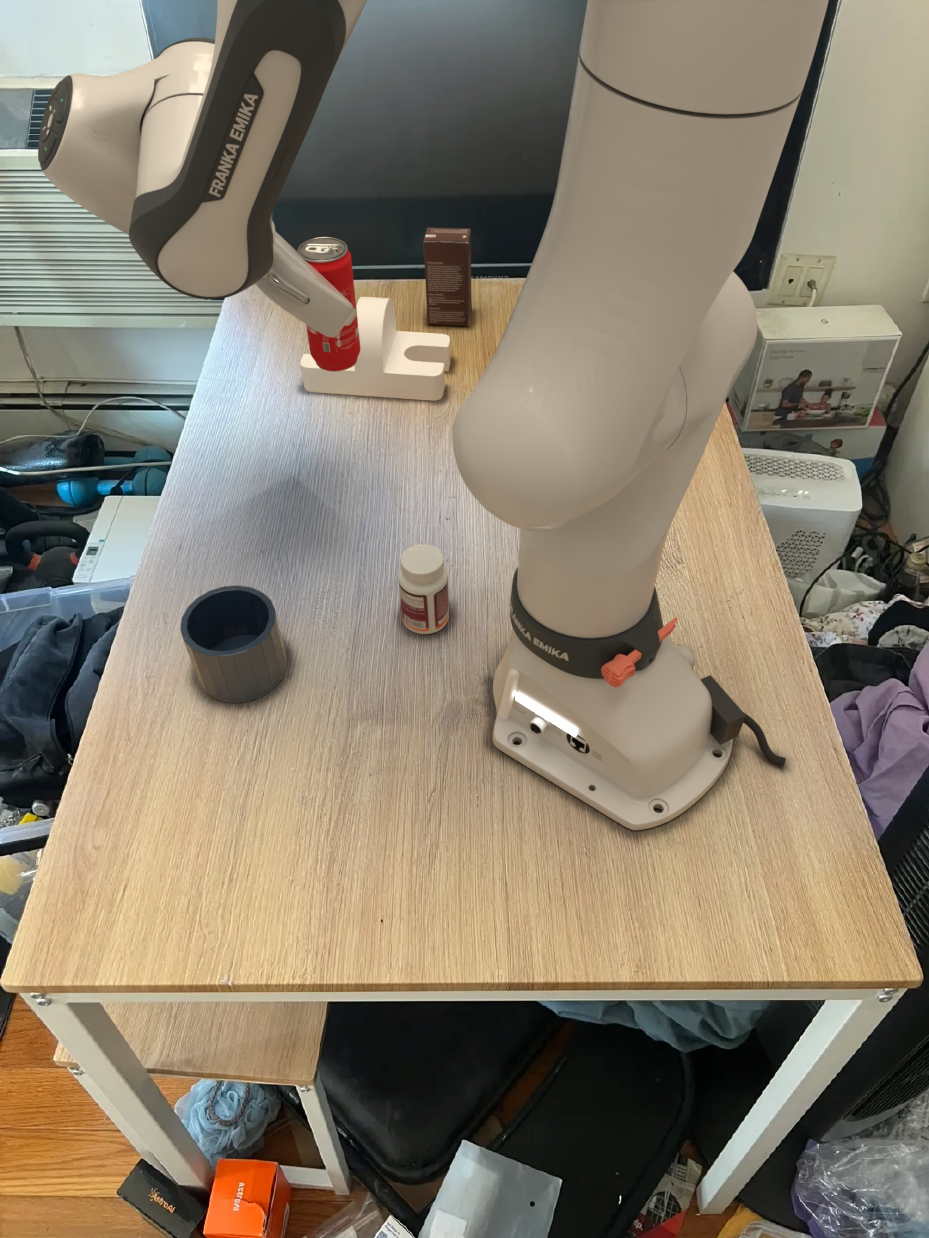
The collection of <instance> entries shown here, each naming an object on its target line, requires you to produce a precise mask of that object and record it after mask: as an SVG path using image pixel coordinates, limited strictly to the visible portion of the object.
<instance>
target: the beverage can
mask: <svg viewBox="0 0 929 1238" xmlns="http://www.w3.org/2000/svg"><path fill="white" fill-rule="evenodd" d="M297 252H298V254H299V256H300V257H302V258H303V259H304V260H305V261H307V262H308V263H309V264H310V265H312V266H313V267H314V268H315V269H316V270H317V271H318V272H319V273H320V274H321V275H322V276H323V277H324V278H325V279H326V280H327V281H328V282H329V283H330V284H331V285H333V286H334V287H335V288H336V289H337V290H338V291H339V292H340V293H341V294H342V295H343V296H344V297H345V298H346V299H347V300H348V301H349V302H350V303H351V304H352V305H353V308H354V309H355V310H356V311H357V309H356V306H357V301H356V299H357V298H356V290H355V281H354V270H353V264H352V263H353V260H352V254H351V252H350V250H349V247H348V244H346V242H345V241H344V240H341V239H339V238H336V237H331V236H322V237H321V236H320V237H314V238H311V239H308V240H305V241H304V242H302V243H301V244H300V245H299V246H298V248H297ZM305 327H306V334H307V340H308V347H309V354H311V356H312V358H313V359H314V360H315V362H316V364H317V366H318V367H319V368H321V369H323V370H326V371H332V372H338V371H344V370H347V369H349V368H351V367H353V366H354V365H355V364H356V362H357V360H358V355H359V353H360V339H359V329H358V319H357V315H356V317H355V318H354V320H353V321H352V323H351V324H350V325H348V326H345V325H344V327H343V328H342V330H341V331H340V332H339V334H338V335H337V336H336V337H334V338H331V337H327V336H325V335H323V334H321V333H320V332H318V331H316V330H315V329H313V328H312V327H310V326H308V325H307V324H305Z"/></svg>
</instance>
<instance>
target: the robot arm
mask: <svg viewBox="0 0 929 1238" xmlns="http://www.w3.org/2000/svg"><path fill="white" fill-rule="evenodd" d="M829 1H830V0H587V3H586V8H585V14H584V20H583V26H582V32H581V37H580V43H579V49H578V57H577V62H576V63H577V64H576V69H575V75H574V82H573V89H572V95H571V100H570V107H569V113H568V119H567V124H566V125H567V126H566V131H565V137H564V143H563V148H562V154H561V159H560V166H559V171H558V177H557V183H556V188H555V192H554V196H553V200H552V205H551V208H550V211H549V214H548V215H549V216H548V218H547V221H546V225H545V227H544V231H543V233H542V236H541V238H540V242H539V244H538V247H537V250H536V252H535V255H534V257H533V260H532V262H531V265H530V267H529V270H528V272H527V275H526V277H525V280H524V282H523V285H522V288H521V290H520V292H519V295H518V298H517V300H516V302H515V305H514V307H513V310H512V312H511V314H510V316H509V319H508V322H507V325H506V327H505V329H504V331H503V333H502V336H501V338H500V340H499V342H498V345H497V347H496V350H495V351H494V353H493V355H492V357H491V358H490V360H489V362H488V364H487V366H486V367H485V370H484V371H483V372H482V374H481V376H480V378H479V379H478V380H477V382H476V383H475V385H474V387H473V388H472V389H471V391H470V392H469V394H468V396H466V398H465V400H464V401H463V403H462V404H461V405H460V407H459V409H458V410H457V411H456V414H455V417H454V421H453V424H452V425H453V426H452V448H453V453H454V458H455V463H456V466H457V469H458V471H459V474H460V476H461V478H462V480H463V483H464V485H465V486H466V488H467V489H468V491H469V492H470V494H471V495H472V496H473V497H474V499H475V500H476V501H477V503H479V504H480V505H481V507H483V508H484V509H485V510H486V511H487V512H488V513H489V514H491V515H492V516H494V517H495V518H497V519H498V520H500V521H501V522H504V523H506V524H507V525H510V526H512V527H515V528H517V529H519V540H518V541H519V542H518V557H517V559H518V560H517V567H516V569H515V570H514V571H515V572H514V573H513V577H512V581H511V590H510V598H509V603H508V605H509V619H510V624H511V629H510V633H509V634H510V635H509V639H508V643H507V645H506V648H505V652H504V653H503V656H502V659H501V660H500V661H499V663H498V665H497V667H496V670H495V673H494V676H493V681H492V695H493V702H494V705H495V710H496V718H495V721H494V726H493V730H492V735H491V739H492V743H493V746H494V747H495V748H496V749H497V750H499V751H500V752H502V753H504V754H505V755H507V756H509V757H510V758H512V759H513V760H515V761H517V762H518V763H520V764H522V765H524V766H525V767H527V768H528V769H529V770H531V771H533V772H535V773H536V774H539V775H540V776H541V777H543V778H544V779H546V780H548V781H549V782H552V783H553V784H554V785H555V786H558V787H559V788H561V789H562V790H564V791H566V792H568V793H569V794H570V795H572V796H574V797H575V798H577V799H579V800H580V801H582V802H583V803H585V804H587V805H589V806H590V807H591V808H593V809H595V810H597V811H598V812H600V813H601V814H603V815H605V816H606V817H608V818H610V819H611V820H613V821H615V822H617V823H618V824H620V825H621V826H622V827H625V828H627V829H629V830H631V831H641V830H648V829H652V828H655V827H658V826H661V825H663V824H666V823H668V822H671V821H672V820H673V819H676V818H677V817H678V816H680V815H682V814H683V813H684V812H686V811H688V810H689V809H690V808H691V807H692V806H694V805H695V804H696V803H697V802H698V801H699V800H700V799H702V797H703V796H705V795H706V794H707V792H708V791H709V790H710V789H711V788H712V787H713V786H714V785H715V783H716V782H717V781H718V780H719V779H720V777H721V776H722V774H723V772H724V771H725V769H726V767H727V765H728V763H729V761H730V757H731V754H732V748H733V741H734V739H736V738H738V737H739V735H740V732H741V730H742V727H743V725H746V727H748V728H749V729H750V730H751V731H752V733H753V734H754V736H755V739H756V741H757V743H758V746H759V748H760V750H761V753H762V754H763V755H764V757H765V758H766V759H767V760H768V761H769V762H770V763H771V764H774V765H776V766H781V767H784V766H785V764H786V761H787V758H786V757H783V756H780V755H779V756H778V755H776V754H775V753H774V752H773V750H772V749H771V748H770V745H769V742H768V740H767V738H766V735H765V732H764V731H763V729H762V728H761V726H760V725H759V724H758V722H756V721H755V719H753V718H752V717H751V716H750V715H748V714H747V713H746V712H745V711H743V710H742V709H741V708H740V707H739V705H738V704H737V703H736V702H735V701H734V700H733V699H732V697H730V695H729V694H728V693H727V692H726V691H725V689H723V687H722V686H721V685H720V684H719V683H718V682H717V680H716V679H715V678H714V677H713V676H712V675H711V674H709V675H706V676H705V677H702V678H700V677H699V676H698V674H697V673H696V672H695V670H694V668H693V667H694V665H695V664H696V658H695V654H694V653H693V651H692V650H691V648H689V646H687V645H685V644H678V645H676V643H675V642H674V641H673V639H672V638H671V636H670V635H671V634H672V632H673V631H674V630H675V628H677V627H676V626H677V624H676V623H677V622H678V620H679V619H678V617H677V616H676V617H673V618H672V619H671V620H670V621H669V622H667V623H666V624H665V625H664V622H663V617H662V611H661V606H660V601H659V596H658V591H657V588H656V582H657V578H658V574H659V570H660V566H661V562H662V558H663V554H664V549H665V545H666V541H667V538H668V534H669V531H670V529H671V526H672V524H673V522H674V519H675V516H676V514H677V512H678V509H679V507H680V505H681V503H682V501H683V499H684V497H685V495H686V493H687V490H688V489H689V486H690V484H691V482H692V479H693V477H694V475H695V473H696V471H697V469H698V467H699V465H700V462H701V459H702V457H703V455H704V453H705V451H706V448H707V446H708V443H709V441H710V439H711V437H712V433H713V431H714V429H715V426H716V423H717V421H718V419H719V416H720V414H721V411H722V410H723V407H724V404H725V403H726V400H727V399H728V396H729V395H730V393H731V391H732V389H733V387H734V385H735V383H736V381H737V380H738V378H739V376H740V374H741V373H742V371H743V369H744V367H745V366H746V364H747V362H748V360H749V359H750V356H751V354H752V353H753V350H754V349H755V345H756V342H757V336H758V315H757V310H756V306H755V303H754V300H753V297H752V295H751V293H750V292H749V289H748V288H747V286H746V285H745V283H744V282H743V280H742V279H741V278H740V277H739V276H738V275H737V274H736V272H735V271H734V270H735V269H736V268H737V266H738V265H739V264H740V262H741V260H742V259H743V257H744V256H745V254H746V252H747V250H748V248H749V247H750V244H751V243H752V240H753V237H754V235H755V232H756V229H757V225H758V223H759V219H760V217H761V214H762V211H763V208H764V205H765V202H766V199H767V196H768V193H769V190H770V188H771V184H772V181H773V179H774V176H775V174H776V171H777V167H778V164H779V161H780V159H781V155H782V152H783V149H784V146H785V144H786V140H787V138H788V134H789V132H790V128H791V125H792V122H793V119H794V116H795V113H796V111H797V107H798V105H799V102H800V100H801V96H802V94H803V90H804V87H805V84H806V81H807V79H808V75H809V71H810V69H811V66H812V62H813V59H814V57H815V52H816V49H817V45H818V42H819V38H820V35H821V31H822V27H823V23H824V20H825V17H826V13H827V9H828V4H829ZM367 2H368V0H217V5H216V7H217V10H216V27H215V37H214V38H210V37H209V38H208V37H199V36H197V37H196V36H195V37H189V38H184V39H181V40H178V41H175V42H173V43H171V44H169V45H168V46H166V47H164V48H163V49H162V50H161V51H160V52H158V54H157V56H156V57H155V58H154V59H152V60H150V61H148V62H146V63H143V64H140V65H139V66H136V67H134V68H131V69H127V70H125V71H122V72H119V73H115V74H111V75H105V76H102V75H101V76H99V75H96V76H95V75H91V74H85V73H78V72H75V73H70V74H68V75H65V76H64V77H63V78H62V79H61V80H60V81H58V83H57V84H56V85H55V87H54V88H53V90H52V92H51V94H50V96H49V98H48V101H47V102H46V105H45V108H44V112H43V116H42V119H41V123H40V128H39V135H38V147H37V158H38V162H39V166H40V170H41V171H42V173H43V175H44V176H45V177H46V179H48V181H49V182H50V183H51V184H52V185H53V186H55V188H56V189H58V190H59V191H60V192H62V194H64V195H65V196H66V197H68V198H69V199H70V200H71V201H73V202H74V203H76V204H77V205H79V206H80V207H82V208H83V209H85V210H86V211H87V212H89V213H90V214H92V215H94V216H95V217H97V218H99V219H100V220H102V221H104V222H105V223H106V224H108V225H110V226H112V227H114V228H115V229H117V230H118V231H120V232H122V233H124V234H126V235H127V236H128V239H129V243H130V245H131V246H132V248H133V249H134V252H136V254H137V255H138V256H139V258H140V259H141V261H142V262H143V263H144V264H145V265H146V266H147V267H148V269H149V270H150V271H151V272H152V273H153V274H154V275H155V276H156V277H157V278H158V279H159V280H161V281H162V282H163V283H164V284H166V285H167V286H168V287H170V289H172V290H174V291H176V292H178V293H180V294H182V295H185V296H188V297H190V298H195V299H199V300H223V299H227V298H230V297H233V296H236V295H237V294H240V293H241V292H244V291H245V290H248V289H249V288H250V287H252V286H253V285H255V286H256V287H257V288H258V289H259V290H260V291H261V292H262V293H263V294H264V295H265V297H267V298H268V299H269V300H270V301H272V302H273V303H274V304H276V305H277V306H278V307H280V308H281V309H282V310H284V311H285V312H286V313H288V314H289V315H291V316H293V317H294V318H295V319H297V320H299V321H301V322H302V323H304V324H305V325H306V324H307V325H308V326H310V327H312V328H313V329H315V330H316V331H318V332H320V333H321V334H323V335H325V336H327V337H331V338H334V337H336V336H337V335H338V334H339V332H340V331H341V330H342V328H343V327H344V325H345V326H348V325H350V324H351V323H352V321H353V320H354V318H355V317H356V315H357V311H356V310H355V309H354V308H353V305H352V304H351V303H350V302H349V301H348V300H347V299H346V298H345V297H344V296H343V295H342V294H341V293H340V292H339V291H338V290H337V289H336V288H335V287H334V286H333V285H331V284H330V283H329V282H328V281H327V280H326V279H325V278H324V277H323V276H322V275H321V274H320V273H319V272H318V271H317V270H316V269H315V268H314V267H313V266H312V265H310V264H309V263H308V262H307V261H305V260H304V259H303V258H302V257H300V256H299V254H298V250H296V249H295V248H294V247H293V246H292V245H291V244H290V243H288V241H286V240H285V239H284V237H283V236H281V235H280V234H279V233H278V232H277V231H276V226H275V223H274V221H273V212H274V209H275V207H276V204H277V201H278V199H279V197H280V195H281V192H282V190H283V188H284V186H285V183H286V181H287V179H288V177H289V175H290V172H291V170H292V167H293V166H294V163H295V161H296V159H297V157H298V154H299V152H300V150H301V147H302V145H303V143H304V140H305V138H306V136H307V134H308V132H309V129H310V128H311V127H310V126H311V125H312V122H313V120H314V118H315V115H316V113H317V110H318V108H319V105H320V103H321V100H322V98H323V95H324V93H325V91H326V88H327V86H328V83H329V81H330V79H331V77H332V75H333V72H334V70H335V67H336V65H337V63H338V61H339V59H340V57H341V56H342V53H343V51H344V50H345V47H346V45H347V43H348V42H349V39H350V38H351V35H352V34H353V31H354V29H355V28H356V25H357V23H358V21H359V19H360V17H361V15H362V12H363V10H364V9H365V5H366V4H367ZM516 742H517V743H520V744H518V745H517V744H514V743H516ZM715 755H717V756H719V757H717V756H715ZM655 809H658V810H660V811H661V812H657V811H655Z"/></svg>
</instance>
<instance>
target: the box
mask: <svg viewBox="0 0 929 1238" xmlns="http://www.w3.org/2000/svg"><path fill="white" fill-rule="evenodd" d="M422 242H423V244H422V245H423V262H424V276H425V277H424V279H425V281H424V282H425V299H426V321H427V325H437V326H463V327H465V326H466V327H469V326H470V323H471V316H472V305H473V304H472V229H471V228H451V227H446V228H445V227H427V228H426V231H425V235H424V238H423V241H422Z"/></svg>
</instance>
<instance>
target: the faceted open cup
mask: <svg viewBox="0 0 929 1238" xmlns="http://www.w3.org/2000/svg"><path fill="white" fill-rule="evenodd" d="M179 629H180V633H181V637H182V639H183V642H184V645H185V648H186V650H187V654H188V656H189V659H190V661H191V665H192V667H193V670H194V673H195V675H196V678H197V681H198V683H199V685H200V687H201V689H202V690H203V692H205V693H206V695H208V696H209V697H211V698H213V699H215V700H217V701H220V702H223V703H227V704H243V703H249V702H251V701H252V702H253V701H255V700H258V699H260V698H262V697H264V696H266V695H268V694H270V692H272V691H273V690H274V689H275V688H276V687H277V686H278V685H279V684H280V683H281V681H282V679H283V678H284V676H285V673H286V671H287V665H288V660H287V651H286V648H285V644H284V640H283V636H282V631H281V628H280V623H279V618H278V615H277V611H276V608H275V606H274V602H273V600H272V599H270V597H268V596H267V594H265V592H263V591H261V590H258V589H256V588H254V587H251V586H246V585H245V586H244V585H239V584H238V585H226V586H220V587H217V588H214V589H210V590H208V591H207V592H205V593H203V594H201V595H199V596H197V598H195V599H194V600H193V601H192V602H191V603H190V604H189V605H188V606H187V607H186V609H185V611H184V613H183V615H182V617H181V619H180V628H179Z"/></svg>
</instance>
